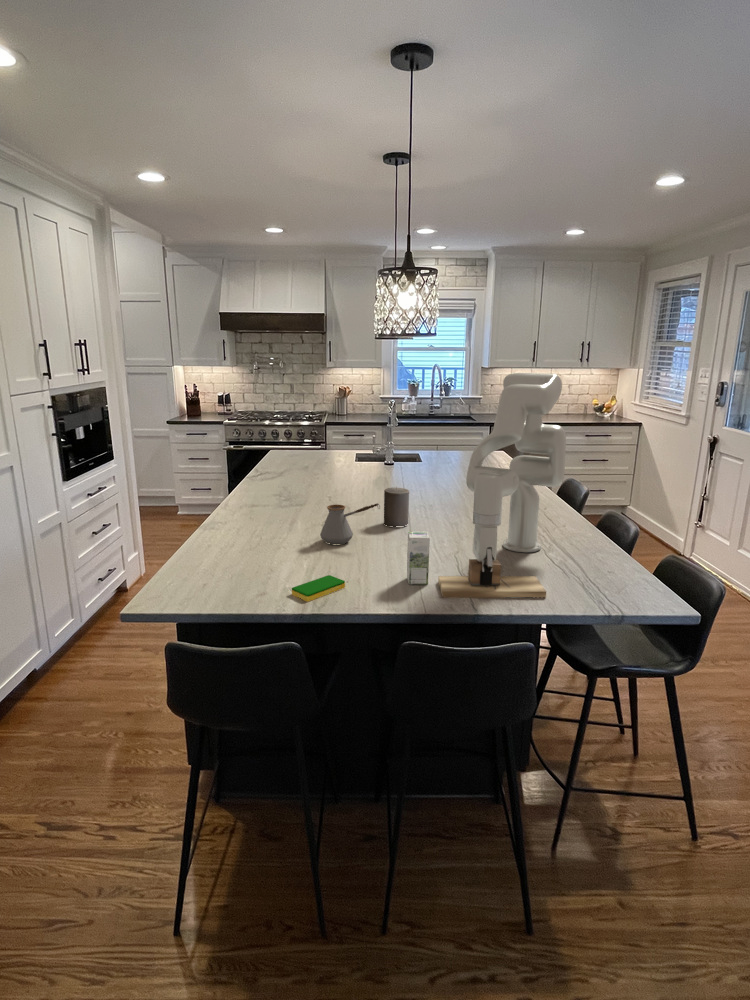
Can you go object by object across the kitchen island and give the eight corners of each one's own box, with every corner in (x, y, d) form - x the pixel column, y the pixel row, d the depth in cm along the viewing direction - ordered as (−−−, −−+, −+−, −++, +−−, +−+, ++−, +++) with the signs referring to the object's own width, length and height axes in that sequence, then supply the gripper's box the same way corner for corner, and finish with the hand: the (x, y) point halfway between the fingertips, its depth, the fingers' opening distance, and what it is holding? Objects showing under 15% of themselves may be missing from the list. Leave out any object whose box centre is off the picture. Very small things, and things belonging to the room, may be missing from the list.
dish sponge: (291, 595, 158) (290, 587, 158) (329, 582, 168) (329, 574, 167) (307, 603, 153) (307, 594, 153) (345, 588, 163) (345, 580, 162)
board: (438, 582, 167) (438, 575, 166) (534, 582, 167) (535, 576, 166) (442, 597, 156) (442, 591, 156) (545, 597, 156) (546, 591, 156)
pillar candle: (379, 525, 222) (379, 487, 218) (390, 519, 230) (391, 482, 226) (402, 529, 217) (403, 491, 213) (412, 523, 226) (413, 485, 222)
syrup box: (426, 577, 170) (427, 530, 167) (428, 585, 164) (429, 536, 161) (406, 577, 170) (407, 530, 166) (408, 585, 164) (409, 537, 161)
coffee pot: (315, 545, 198) (314, 503, 195) (326, 536, 209) (325, 495, 205) (375, 550, 193) (375, 507, 190) (383, 540, 204) (383, 499, 200)
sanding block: (468, 579, 163) (469, 559, 162) (496, 579, 163) (497, 559, 162) (470, 585, 159) (471, 564, 157) (499, 585, 159) (501, 564, 157)
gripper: (468, 510, 165) (465, 570, 169) (479, 527, 148) (475, 593, 153) (494, 510, 165) (490, 570, 169) (508, 527, 148) (504, 593, 153)
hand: (483, 580), depth 161 cm, fingers closed on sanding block, 4 cm apart
